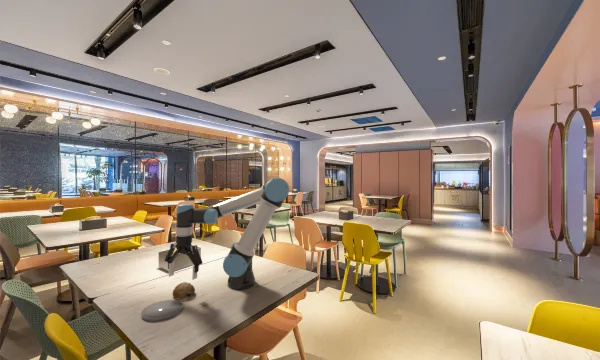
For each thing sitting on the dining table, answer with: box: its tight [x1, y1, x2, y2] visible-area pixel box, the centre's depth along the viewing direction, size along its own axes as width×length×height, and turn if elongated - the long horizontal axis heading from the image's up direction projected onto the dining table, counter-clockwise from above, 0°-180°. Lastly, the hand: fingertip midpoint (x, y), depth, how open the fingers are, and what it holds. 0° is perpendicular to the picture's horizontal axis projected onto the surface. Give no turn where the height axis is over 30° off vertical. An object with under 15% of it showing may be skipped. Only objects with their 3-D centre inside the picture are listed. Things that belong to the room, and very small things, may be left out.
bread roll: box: [172, 281, 196, 300], centre depth 127 cm, size 10×10×8 cm
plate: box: [140, 299, 184, 322], centre depth 111 cm, size 16×16×1 cm
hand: (182, 277), depth 127 cm, fingers open, 13 cm apart
